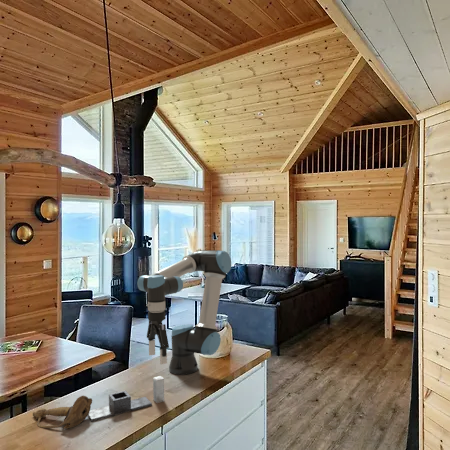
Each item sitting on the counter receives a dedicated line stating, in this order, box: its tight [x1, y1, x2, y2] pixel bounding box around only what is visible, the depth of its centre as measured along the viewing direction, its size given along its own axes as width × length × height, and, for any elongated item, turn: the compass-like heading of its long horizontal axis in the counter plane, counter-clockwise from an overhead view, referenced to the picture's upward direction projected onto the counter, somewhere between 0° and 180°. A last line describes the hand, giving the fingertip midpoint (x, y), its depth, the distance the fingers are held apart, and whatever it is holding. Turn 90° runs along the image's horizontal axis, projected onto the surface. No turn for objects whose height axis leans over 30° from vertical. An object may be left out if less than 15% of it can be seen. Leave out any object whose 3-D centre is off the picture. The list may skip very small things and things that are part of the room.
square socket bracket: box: [87, 390, 153, 423], centre depth 170 cm, size 25×8×6 cm, turn 121°
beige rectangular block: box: [152, 375, 165, 404], centre depth 178 cm, size 4×4×10 cm
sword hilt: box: [32, 395, 93, 430], centre depth 162 cm, size 10×24×15 cm
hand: (157, 359), depth 178 cm, fingers open, 13 cm apart
